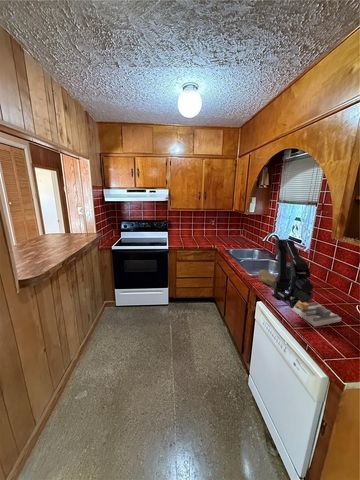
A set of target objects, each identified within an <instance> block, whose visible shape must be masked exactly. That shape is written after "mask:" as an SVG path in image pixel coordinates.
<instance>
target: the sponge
mask: <svg viewBox="0 0 360 480" xmlns="http://www.w3.org/2000/svg"><path fill="white" fill-rule="evenodd" d="M257 276H258V279H259V280H260V281H261V282H262V283H264V284H266V285H268V286H271V287H272V284H273V283H274V282H275V278H276V277H275V276H273V274H271V273H270V272H269V271H268V270H264V269H260V270H259V271H258V274H257Z"/></svg>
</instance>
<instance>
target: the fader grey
mask: <svg viewBox="0 0 360 480" xmlns="http://www.w3.org/2000/svg"><path fill="white" fill-rule="evenodd" d="M322 306H323V305H321V307H316V312H317V313H318V314H319V315H320V316H321V317H327V316H330V312H332V311H331V310H330V309H327V308H326V307H325V306H324V307H325V308H324V307H322ZM329 310H330V311H329Z"/></svg>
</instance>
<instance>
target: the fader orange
mask: <svg viewBox="0 0 360 480" xmlns="http://www.w3.org/2000/svg"><path fill="white" fill-rule="evenodd" d="M307 303H308V302H304V303H302V302H300V301H298V302H297V303H296V306H298V307H299V309H300V310H305V309H308V307H309V304H307Z"/></svg>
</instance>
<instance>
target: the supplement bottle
mask: <svg viewBox="0 0 360 480" xmlns="http://www.w3.org/2000/svg"><path fill="white" fill-rule="evenodd" d="M291 271H292V270H291V265H289V264H287V271H286V275H287V277H288V279H290V282H291V278H292V273H291Z"/></svg>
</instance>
